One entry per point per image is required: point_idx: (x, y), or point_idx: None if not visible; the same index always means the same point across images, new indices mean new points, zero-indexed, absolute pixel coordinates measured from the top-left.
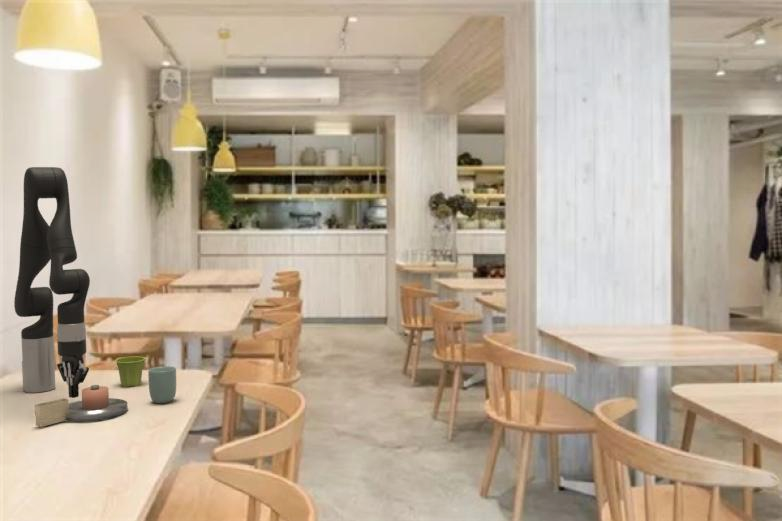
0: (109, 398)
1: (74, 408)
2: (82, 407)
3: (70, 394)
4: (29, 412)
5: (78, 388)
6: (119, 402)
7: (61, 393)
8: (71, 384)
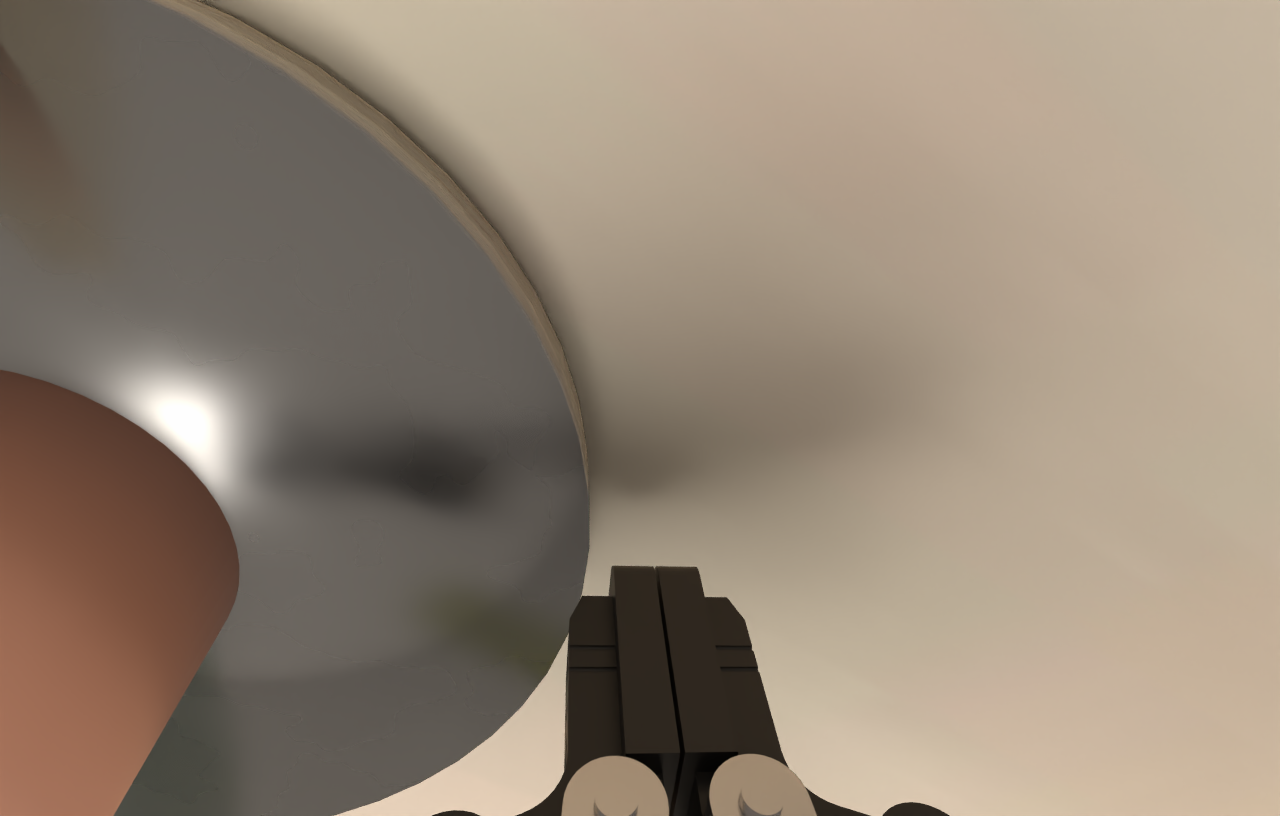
0: (355, 799)
1: (173, 322)
2: (19, 389)
3: (648, 597)
4: (1100, 46)
5: (565, 763)
6: None
7: (1256, 715)
8: (597, 781)
